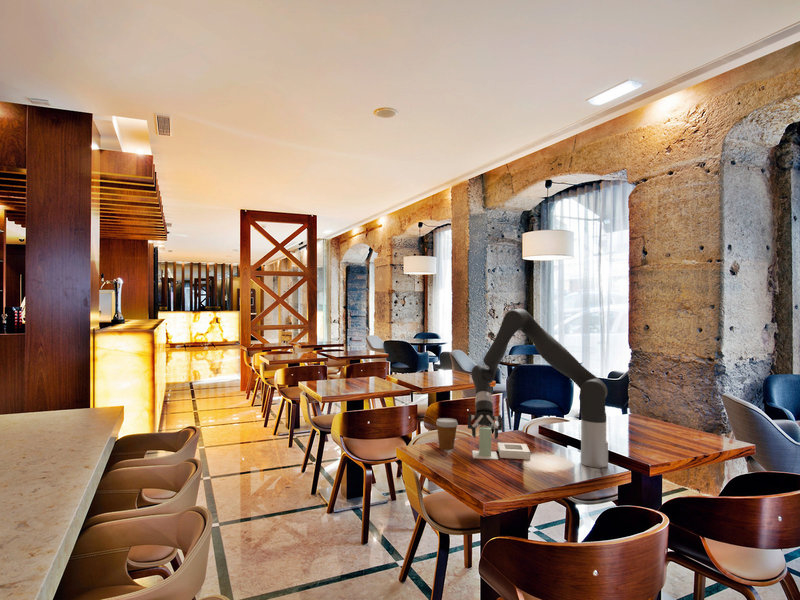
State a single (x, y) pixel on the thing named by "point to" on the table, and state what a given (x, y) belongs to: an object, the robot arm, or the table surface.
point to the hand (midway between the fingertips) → (485, 437)
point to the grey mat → (477, 456)
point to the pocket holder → (513, 450)
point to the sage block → (484, 441)
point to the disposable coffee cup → (446, 433)
